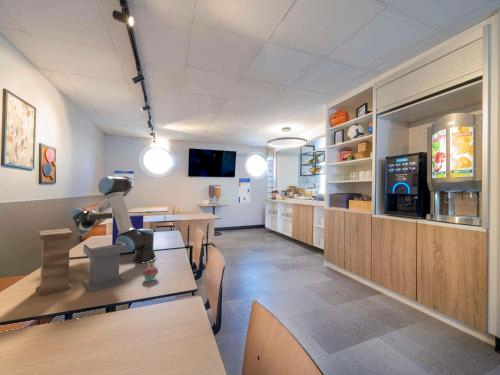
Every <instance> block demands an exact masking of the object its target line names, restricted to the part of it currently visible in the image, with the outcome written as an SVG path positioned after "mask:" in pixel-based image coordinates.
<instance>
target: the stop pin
mask: <svg viewBox="0 0 500 375" xmlns="http://www.w3.org/2000/svg"><path fill="white" fill-rule="evenodd" d="M113 216H114V214H113V212H105V213H100V212H97V211H95V210H94V209H93V210H92V213H91V214H88V216H87V220H96V221H98V220H97V219H100V220H107V219H109V220H110V219H113Z"/></svg>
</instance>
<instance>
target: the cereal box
mask: <svg viewBox="0 0 500 375" xmlns="http://www.w3.org/2000/svg"><path fill="white" fill-rule="evenodd" d="M129 217H130V220H131V223H132V226H133V228H135V229H136V230H137V229H144V215H143V214H138V215H137V214H136V215H135V214H134V215H133V214H131V215H129ZM111 232H112V237H111V238H112V241H111V245H115V242H116V239H117V238H118V236H117V235H118V233H119V230H118V227H117V224H116V221H115V217H114V215H113V216H112V231H111ZM135 251H136V250H133V251H131V252H130V253H135ZM121 254H123V253H119V255H121ZM126 254H129V252H127V253H126Z"/></svg>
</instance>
